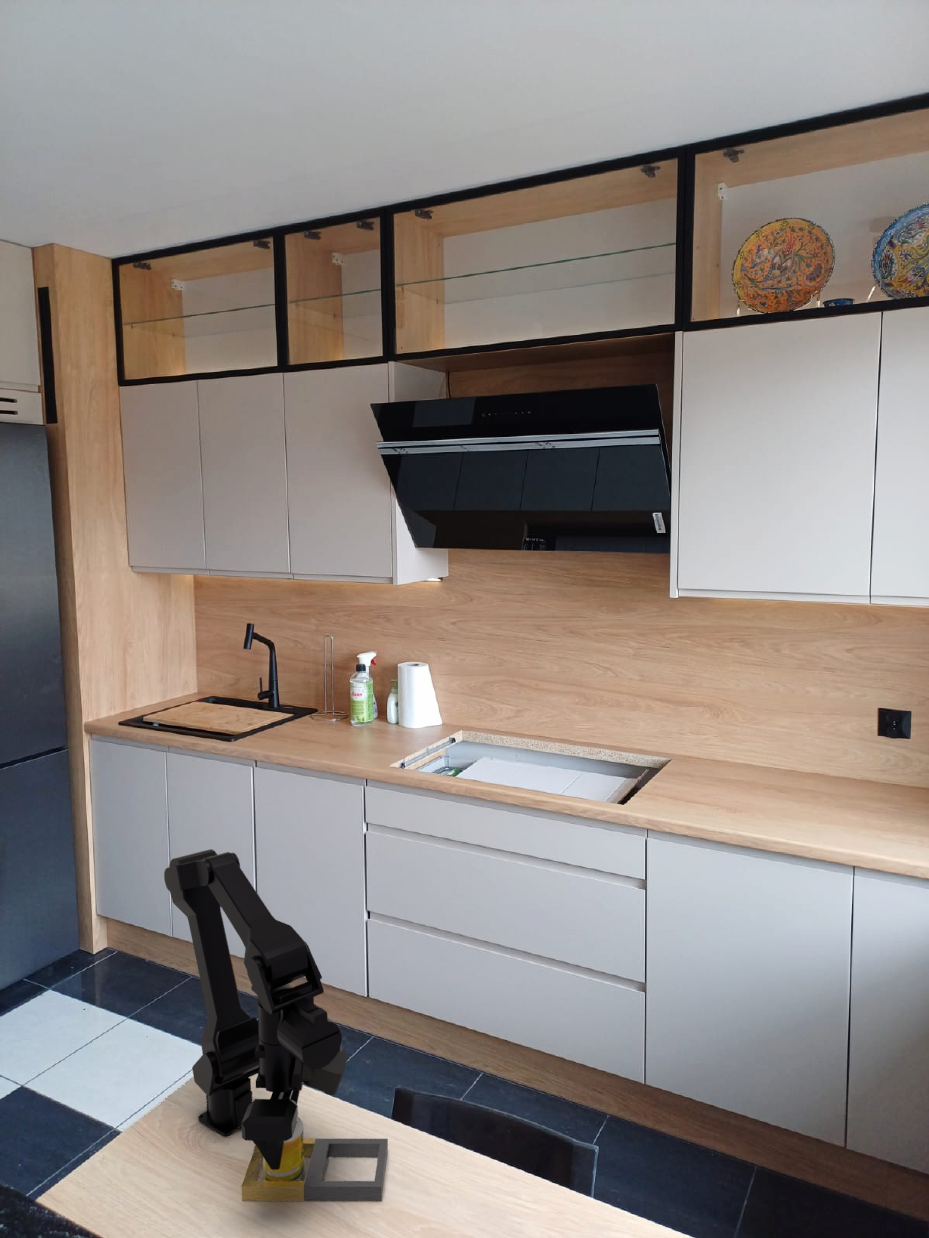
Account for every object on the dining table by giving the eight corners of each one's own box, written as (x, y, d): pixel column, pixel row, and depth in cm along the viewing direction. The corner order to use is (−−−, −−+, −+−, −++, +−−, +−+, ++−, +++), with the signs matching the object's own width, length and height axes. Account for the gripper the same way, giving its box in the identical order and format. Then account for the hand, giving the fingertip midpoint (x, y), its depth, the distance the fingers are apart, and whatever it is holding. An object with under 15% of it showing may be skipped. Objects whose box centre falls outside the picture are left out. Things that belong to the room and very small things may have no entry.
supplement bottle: (258, 1169, 118) (256, 1102, 118) (296, 1155, 121) (295, 1090, 120) (270, 1195, 114) (268, 1126, 113) (309, 1180, 116) (308, 1112, 116)
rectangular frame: (241, 1200, 113) (241, 1186, 113) (258, 1151, 122) (257, 1138, 122) (381, 1201, 113) (381, 1186, 113) (387, 1151, 122) (387, 1138, 122)
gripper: (331, 1076, 106) (332, 1196, 108) (351, 995, 125) (352, 1099, 126) (238, 1076, 106) (242, 1196, 108) (273, 995, 125) (275, 1098, 126)
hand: (283, 1143), depth 117 cm, fingers open, 9 cm apart
